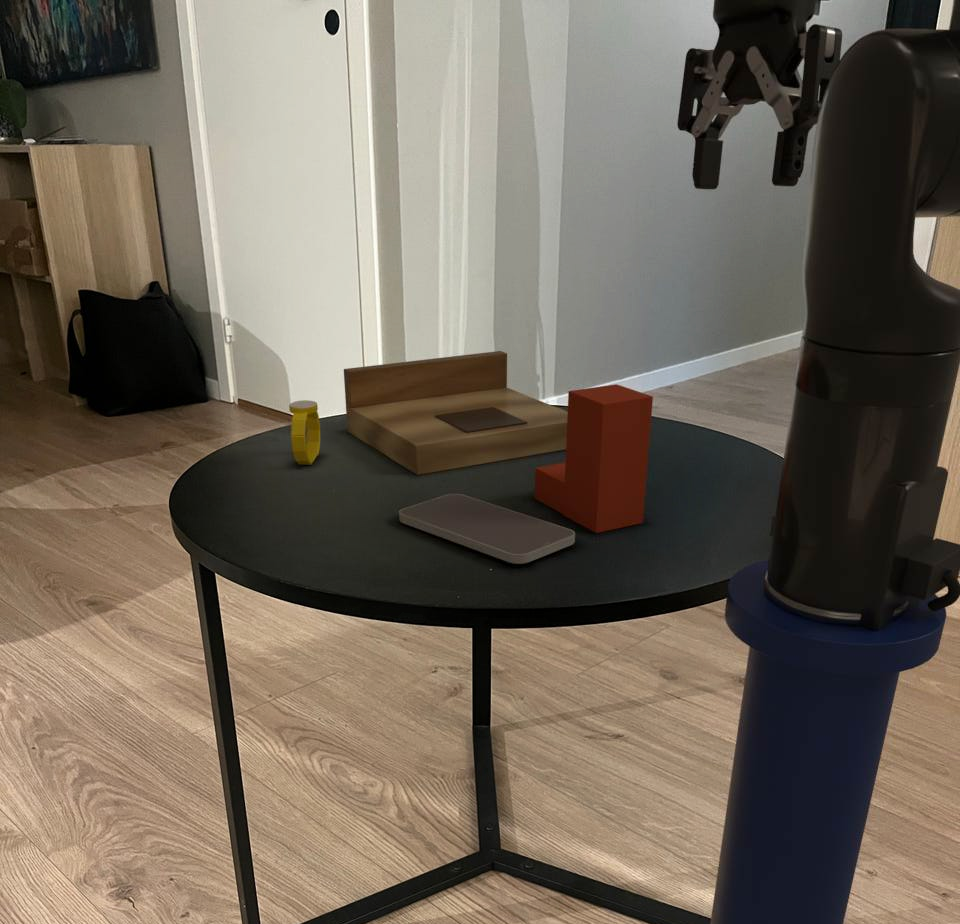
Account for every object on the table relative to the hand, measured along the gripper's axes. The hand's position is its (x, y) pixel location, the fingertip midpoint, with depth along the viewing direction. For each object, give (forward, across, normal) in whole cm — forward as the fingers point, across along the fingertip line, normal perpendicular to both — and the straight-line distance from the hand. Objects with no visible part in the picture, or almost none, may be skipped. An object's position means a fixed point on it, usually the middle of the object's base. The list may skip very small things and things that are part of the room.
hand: (743, 187), depth 80 cm
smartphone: (+28, +5, +21) cm, 35 cm away
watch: (+26, +32, +25) cm, 48 cm away
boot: (+27, +5, +10) cm, 29 cm away
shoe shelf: (+25, +30, +8) cm, 40 cm away
